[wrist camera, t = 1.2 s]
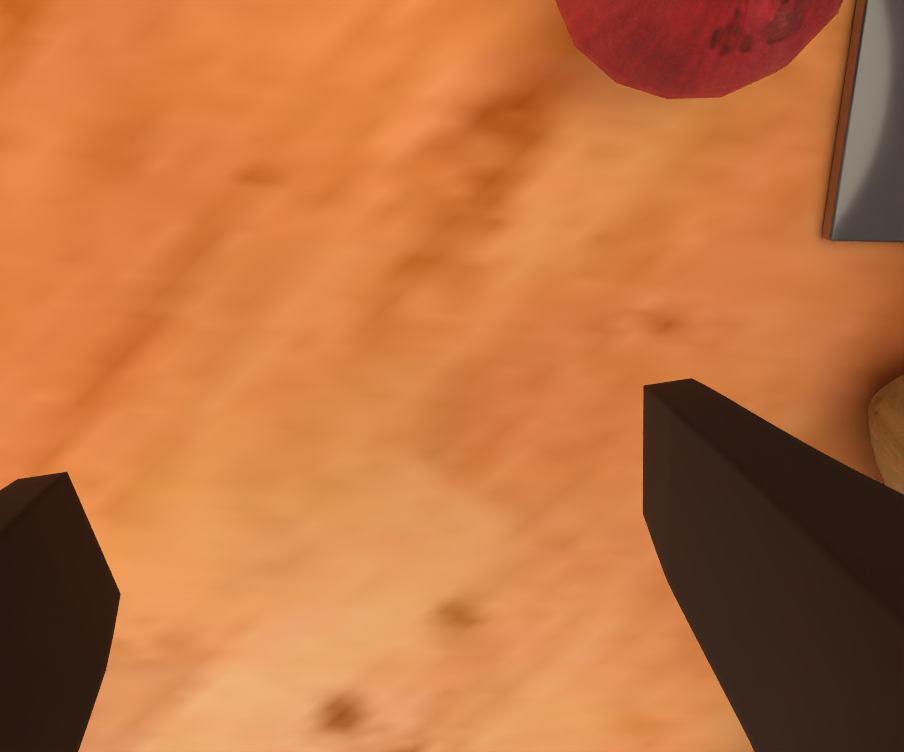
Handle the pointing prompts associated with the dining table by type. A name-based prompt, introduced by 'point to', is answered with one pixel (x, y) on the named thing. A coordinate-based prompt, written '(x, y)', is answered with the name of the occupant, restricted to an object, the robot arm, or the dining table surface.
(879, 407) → the fennel bulb
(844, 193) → the slate board
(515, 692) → the dining table surface
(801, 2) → the onion
